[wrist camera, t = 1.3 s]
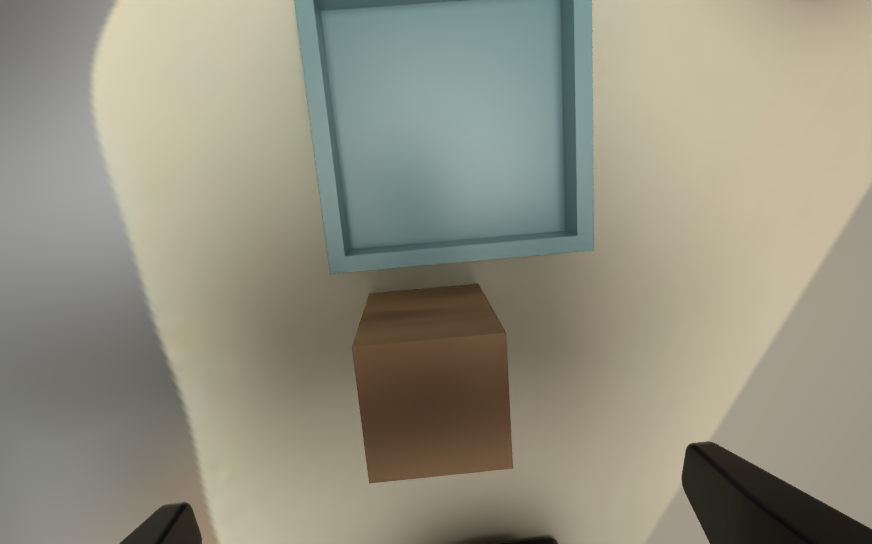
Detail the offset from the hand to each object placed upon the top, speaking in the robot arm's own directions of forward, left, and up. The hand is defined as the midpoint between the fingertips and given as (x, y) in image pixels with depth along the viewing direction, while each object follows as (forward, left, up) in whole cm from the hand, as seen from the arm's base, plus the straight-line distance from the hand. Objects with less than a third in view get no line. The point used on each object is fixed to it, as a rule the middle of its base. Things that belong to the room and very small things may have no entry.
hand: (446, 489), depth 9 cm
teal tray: (+7, -1, -12) cm, 14 cm away
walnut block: (-2, 0, -12) cm, 12 cm away
